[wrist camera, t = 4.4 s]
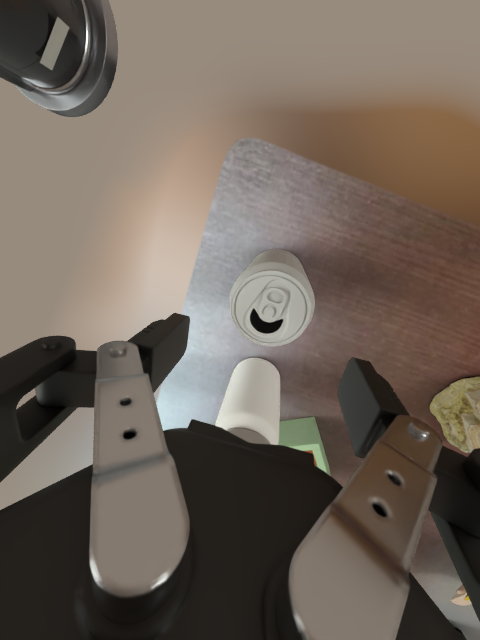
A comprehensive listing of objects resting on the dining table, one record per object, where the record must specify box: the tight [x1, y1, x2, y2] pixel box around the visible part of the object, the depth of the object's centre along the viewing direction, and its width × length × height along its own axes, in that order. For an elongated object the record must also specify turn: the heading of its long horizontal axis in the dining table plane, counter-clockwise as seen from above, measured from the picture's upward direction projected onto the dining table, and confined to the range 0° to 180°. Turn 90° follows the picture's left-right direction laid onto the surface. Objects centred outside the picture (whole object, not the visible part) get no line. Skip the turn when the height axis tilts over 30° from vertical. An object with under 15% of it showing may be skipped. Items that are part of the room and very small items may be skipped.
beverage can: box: [229, 249, 315, 346], centre depth 23 cm, size 6×6×12 cm
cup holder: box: [278, 417, 331, 476], centre depth 36 cm, size 9×18×5 cm, turn 109°
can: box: [215, 358, 280, 445], centre depth 28 cm, size 6×6×12 cm
